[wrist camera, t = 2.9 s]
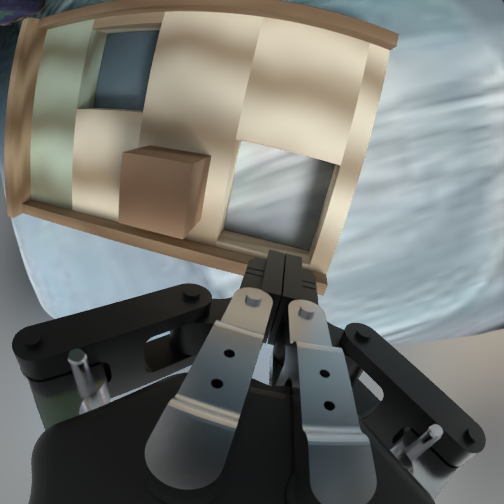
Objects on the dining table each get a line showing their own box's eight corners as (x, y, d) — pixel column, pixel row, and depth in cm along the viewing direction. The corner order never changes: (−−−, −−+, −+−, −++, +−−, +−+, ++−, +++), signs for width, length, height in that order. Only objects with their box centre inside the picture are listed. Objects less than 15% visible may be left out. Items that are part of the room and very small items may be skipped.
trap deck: (59, 25, 18) (23, 19, 13) (382, 46, 17) (405, 28, 12) (41, 199, 27) (8, 216, 22) (320, 270, 26) (324, 306, 21)
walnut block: (149, 145, 20) (122, 152, 17) (211, 155, 20) (193, 164, 17) (143, 205, 23) (118, 222, 19) (200, 219, 23) (182, 239, 19)
